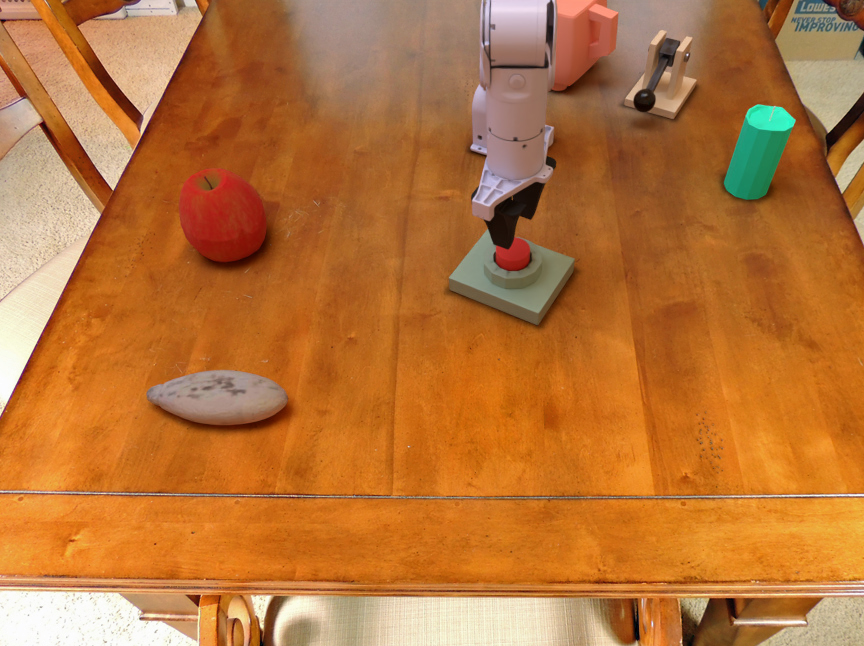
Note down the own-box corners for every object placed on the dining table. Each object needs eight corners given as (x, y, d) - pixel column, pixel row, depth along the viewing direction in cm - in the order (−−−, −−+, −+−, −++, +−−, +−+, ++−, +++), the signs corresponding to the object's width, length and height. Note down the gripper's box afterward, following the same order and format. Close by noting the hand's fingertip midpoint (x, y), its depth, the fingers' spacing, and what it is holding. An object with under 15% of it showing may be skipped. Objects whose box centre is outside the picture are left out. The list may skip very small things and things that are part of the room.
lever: (650, 119, 100) (651, 104, 97) (629, 113, 101) (629, 98, 98) (682, 55, 102) (684, 39, 99) (661, 50, 103) (663, 34, 100)
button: (489, 264, 80) (489, 253, 79) (505, 243, 82) (505, 232, 81) (519, 276, 79) (520, 265, 78) (535, 254, 81) (535, 243, 80)
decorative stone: (161, 380, 76) (149, 361, 73) (299, 383, 75) (291, 365, 72) (143, 427, 72) (129, 409, 69) (287, 431, 72) (279, 413, 69)
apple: (256, 206, 93) (231, 139, 84) (286, 249, 88) (264, 183, 79) (182, 235, 89) (149, 169, 81) (210, 282, 84) (178, 217, 76)
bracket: (673, 119, 103) (686, 63, 96) (623, 105, 105) (632, 50, 98) (695, 86, 108) (709, 31, 101) (647, 73, 110) (657, 18, 103)
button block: (449, 290, 83) (447, 266, 80) (488, 239, 88) (488, 215, 85) (537, 325, 79) (539, 302, 76) (573, 271, 84) (576, 247, 81)
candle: (769, 202, 91) (801, 123, 82) (723, 197, 92) (750, 117, 82) (767, 174, 95) (798, 95, 85) (723, 169, 96) (749, 90, 86)
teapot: (470, 66, 112) (467, -25, 101) (511, 33, 118) (513, -57, 107) (587, 108, 105) (598, 14, 93) (625, 70, 111) (640, -22, 99)
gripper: (518, 178, 61) (515, 283, 72) (584, 96, 69) (572, 203, 80) (450, 155, 63) (457, 261, 74) (522, 78, 71) (518, 185, 82)
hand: (513, 230), depth 77 cm, fingers open, 5 cm apart
